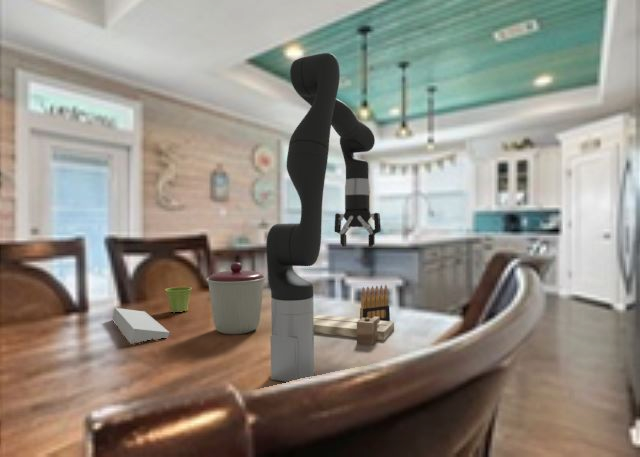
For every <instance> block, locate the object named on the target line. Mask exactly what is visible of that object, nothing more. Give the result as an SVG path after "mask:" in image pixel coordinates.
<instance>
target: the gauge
mask: <svg viewBox="0 0 640 457" xmlns="http://www.w3.org/2000/svg"><path fill="white" fill-rule="evenodd" d="M359 319H360V318H359ZM379 322H380V317H376V316H374V317H373V318H361V319H360V320H358V321H357V337H356V344H358V345H369V346H374V344H375V343H377V341H379V340H378V336H377V324H378V323H379Z"/></svg>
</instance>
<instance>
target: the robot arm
mask: <svg viewBox="0 0 640 457" xmlns="http://www.w3.org/2000/svg"><path fill="white" fill-rule="evenodd" d="M289 69H290V70H289V74H290V75H289V76H290V81H291V85H292V88H293V89H294V91H295V92H296V93H297V95H299V97H300V98H302V100H304V101H305V102H306V103H307V104H308V105H310V108H309V110H308V111H307V113H306V114H305V115H304V117H303V118H302V119H301V121H300V122H299V123H298V124H297V126H296V127H295V130H294V131H293V133H292V134H291V136H290V139H289V143H288V149H287V155H286V156H287V157H286V171H287V174H288V176H289V179H290V181H291V183H292V185H293V186H294V188H295V190H296V192H297V195H298V197H299V200H300V206H301V209H300V216H301V217H300V222H298V223H277V224H273V226H271V227H270V229H269V230H268V233H267V237H266V243H265V244H266V247H265V248H266V250H265V251H266V263H267V280H268V285H269V289H270V295H271V299H270V300H271V301H270V302H271V335H270V338H269V339H270V379H271V380H274V381H279V382H284V383H285V382H286V383H289V382H288V381H292V380H297V379H300V378H305V377H310V376H313V377H314V375H315V333H314V315H315V314H314V308H315V307H314V306H315V305H314V286H313V284H312V282H310V281H308V280H307V279H305V278H303V277H301V276H299V275H298V274H297V273H296V272H295V270H294V268H293V267H294V266H295V267H311V266H314V265H315V263H317V261H318V258H319V256H320V252H321V251H320V250H321V243H322V241H321V240H322V221H323V220H322V218H323V216H322V215H323V196H324V188H325V182H326V181H325V179H326V174H327V173H326V172H327V167H328V159H329V151H330V150H329V149H330V136H331V129H332V128H333V130H334V131H335V132H336V134H337V135H338V136H339V137H340V138H339V145H340V149H341V152H342V155H343V159H344V160H343V161H344V165H345V185H344V211H345V212H344V213H337V212H336V213H335V215H334V232H335V233H337V234H339V235H340V236H339V238H340V241H339V242H340V245H341V246H342V247H347V233H348V231H349V230H350V229H351V228H357V227H358V228H364V229H365V230H366V231H367V232H368V248H373V246H375V241H376V239H375V235H376V234H378V233H381V232H382V228H381V214H380V213H379V212H375V213H371V211H370V192H371V191H370V181H369V180H370V179H369V168H370V167H369V163H368V161H367V160H366V159H358V158H356V157H355V155H354V154H355V153H367V152H370V151H371V150H373V149H374V146H375V144H376V142H375V141H376V140H375V136H374V133H373V131H372V130H371V128H370V127H369V126H367V125H366V124H364V123H363V122H362V121H361V120H359V119H358V118H357V116H356V114H355V113H354V111H353V110H352V109H351V107H350V106H348V104H346V103H345V102H343V101H342V100H340V99H338V98H337V96H338V92H339V85H340V79H341V78H340V73H341V72H340V71H341V70H340V65H339V61H338V59H337V56H335V55H334V54H333V53H330V52H322V53H316V54H312V55H308V56H303V57H299V58H297V59H295V60H294V61H292V64H290V68H289ZM331 127H332V128H331ZM343 219H344V220H345V221H346V222H345V223H344V224H343V227H342V221H343ZM370 219H372V220H373V221H374V222H373V223H374V228H373V227H372V224H370V222H369V220H370Z"/></svg>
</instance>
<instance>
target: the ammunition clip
mask: <svg viewBox="0 0 640 457" xmlns="http://www.w3.org/2000/svg"><path fill="white" fill-rule="evenodd" d="M359 311H360V312H359V319H361V318H373V317H374V316H376V317H380V321H391V315H390V314H391V313H390V305H389V294H388V286H387V284H384V288H383V285H380V287H379V286H378V285H376V286H375V288H374V286H373V285H372V286H371V289H370V287H369V286H367V287H366V290H365V287H364V286H363V287H362V288H361V299H360V309H359Z"/></svg>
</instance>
